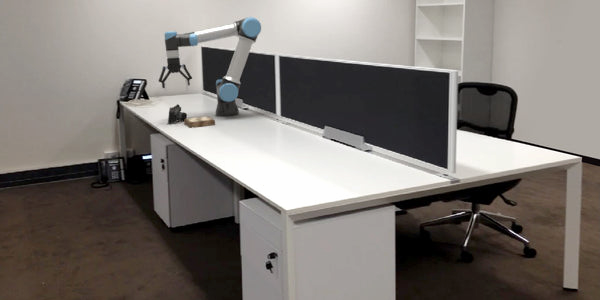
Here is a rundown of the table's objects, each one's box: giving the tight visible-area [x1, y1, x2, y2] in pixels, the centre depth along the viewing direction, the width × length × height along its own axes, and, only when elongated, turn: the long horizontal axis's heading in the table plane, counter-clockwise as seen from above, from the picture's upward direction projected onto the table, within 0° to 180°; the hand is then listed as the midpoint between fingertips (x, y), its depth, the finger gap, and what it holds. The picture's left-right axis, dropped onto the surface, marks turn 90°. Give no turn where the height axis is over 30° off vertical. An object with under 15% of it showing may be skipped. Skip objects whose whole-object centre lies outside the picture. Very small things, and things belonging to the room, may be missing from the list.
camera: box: [167, 104, 188, 125], centre depth 371 cm, size 18×9×10 cm, turn 178°
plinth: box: [183, 116, 216, 129], centre depth 358 cm, size 15×15×3 cm
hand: (176, 92), depth 368 cm, fingers open, 13 cm apart
